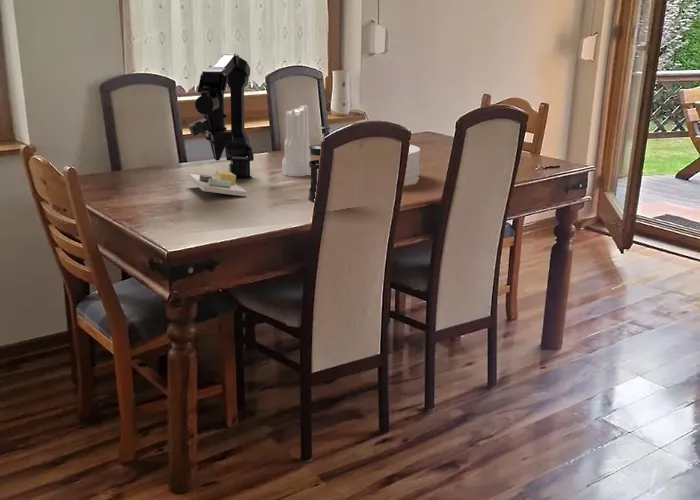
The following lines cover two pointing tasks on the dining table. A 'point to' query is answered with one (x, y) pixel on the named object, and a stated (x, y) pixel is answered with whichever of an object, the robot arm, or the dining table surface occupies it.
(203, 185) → the instrument board
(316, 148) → the french press
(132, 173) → the dining table surface
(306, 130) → the decorative vase
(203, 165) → the dining table surface
